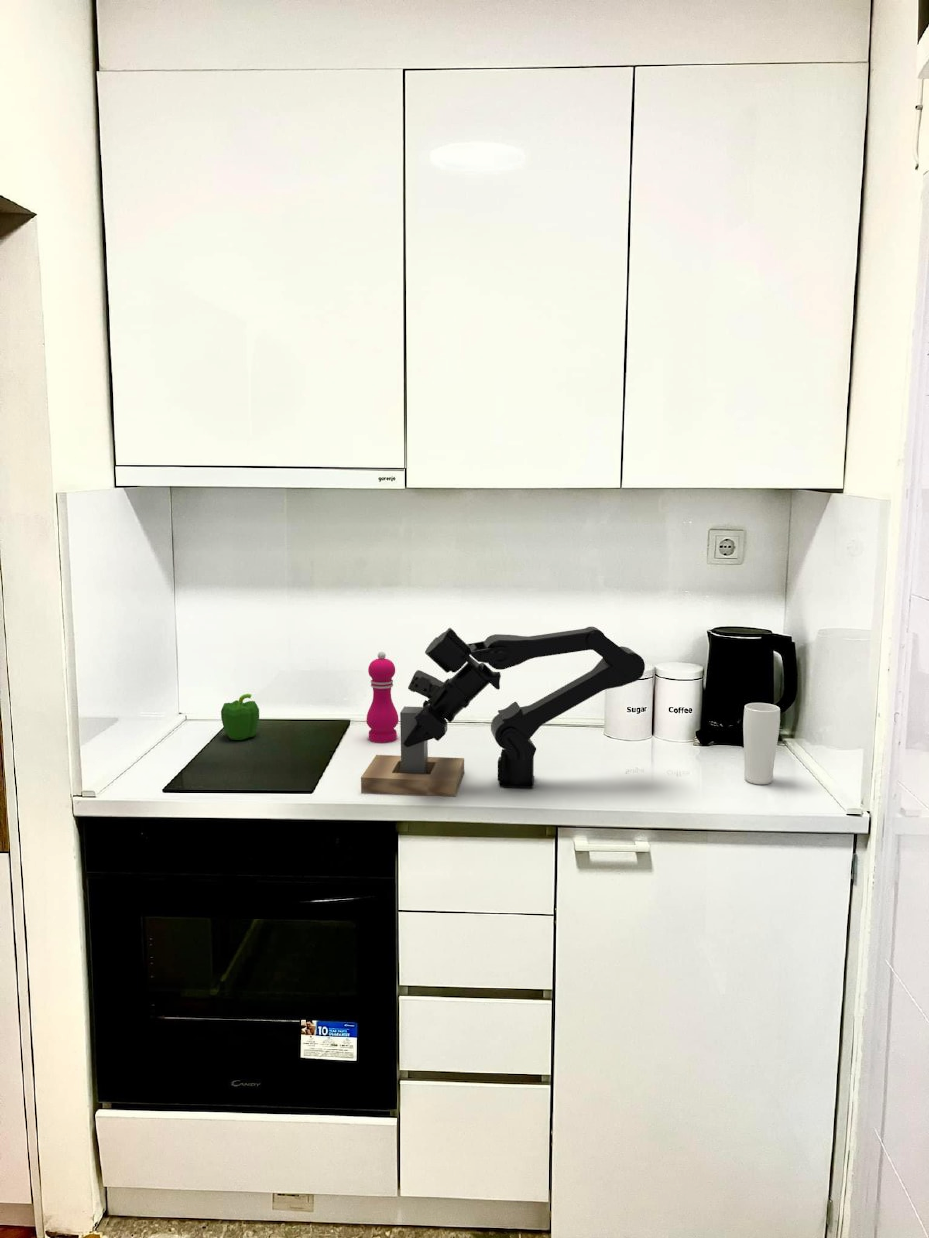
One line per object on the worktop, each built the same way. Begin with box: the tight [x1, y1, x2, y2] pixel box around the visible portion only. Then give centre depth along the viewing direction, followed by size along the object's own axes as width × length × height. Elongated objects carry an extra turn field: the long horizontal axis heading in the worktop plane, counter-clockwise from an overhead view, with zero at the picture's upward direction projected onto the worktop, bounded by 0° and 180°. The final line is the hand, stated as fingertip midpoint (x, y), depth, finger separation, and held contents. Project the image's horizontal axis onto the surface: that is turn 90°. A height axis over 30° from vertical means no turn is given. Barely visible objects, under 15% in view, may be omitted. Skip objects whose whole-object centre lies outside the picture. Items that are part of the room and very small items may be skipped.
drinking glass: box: [742, 702, 781, 785], centre depth 189 cm, size 7×7×15 cm
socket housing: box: [360, 754, 465, 797], centre depth 189 cm, size 18×14×3 cm
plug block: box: [399, 706, 429, 774], centre depth 188 cm, size 4×4×13 cm
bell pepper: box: [220, 693, 260, 741], centre depth 218 cm, size 8×8×10 cm
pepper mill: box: [365, 651, 400, 744], centre depth 216 cm, size 7×7×20 cm
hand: (407, 741), depth 188 cm, fingers closed on plug block, 4 cm apart
